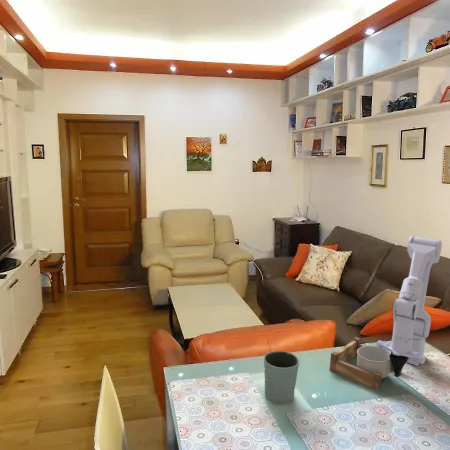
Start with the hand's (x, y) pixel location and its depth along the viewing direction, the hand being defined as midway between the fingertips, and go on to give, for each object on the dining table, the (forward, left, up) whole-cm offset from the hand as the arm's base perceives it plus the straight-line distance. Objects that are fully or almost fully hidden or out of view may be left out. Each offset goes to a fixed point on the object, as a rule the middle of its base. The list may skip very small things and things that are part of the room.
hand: (397, 375), depth 136 cm
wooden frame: (0, -10, -2) cm, 10 cm away
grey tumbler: (+33, -22, -3) cm, 40 cm away
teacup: (0, -8, -3) cm, 9 cm away
